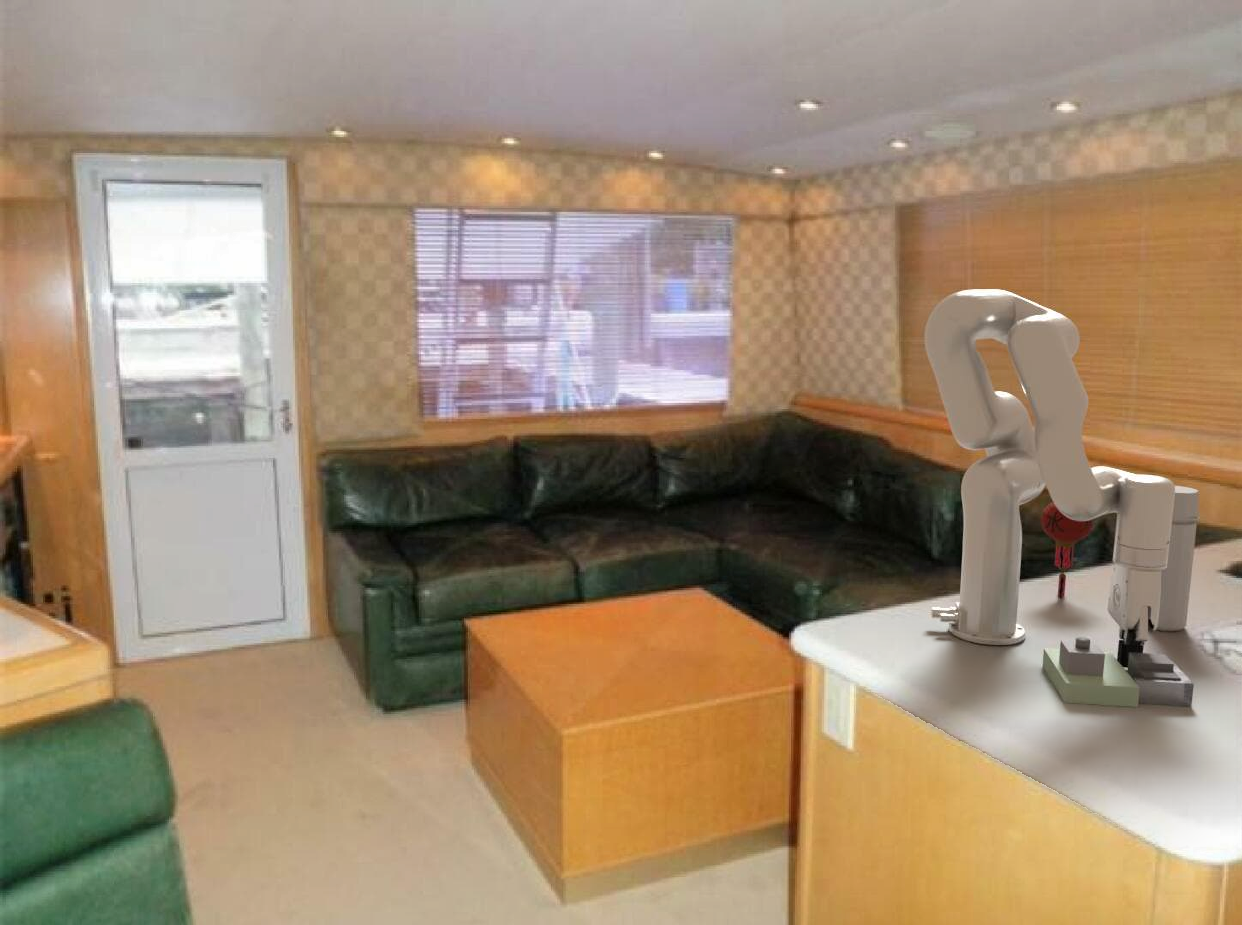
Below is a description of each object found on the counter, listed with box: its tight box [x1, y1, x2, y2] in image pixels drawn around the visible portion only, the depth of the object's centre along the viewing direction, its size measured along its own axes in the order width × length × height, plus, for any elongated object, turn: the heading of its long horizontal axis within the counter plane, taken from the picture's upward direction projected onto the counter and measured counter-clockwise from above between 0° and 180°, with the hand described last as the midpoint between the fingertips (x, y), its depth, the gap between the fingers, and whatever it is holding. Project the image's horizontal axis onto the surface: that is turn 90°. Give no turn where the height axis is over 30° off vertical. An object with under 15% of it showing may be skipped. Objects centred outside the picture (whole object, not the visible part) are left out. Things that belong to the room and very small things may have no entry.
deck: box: [1042, 636, 1140, 708], centre depth 151 cm, size 10×14×8 cm
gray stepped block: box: [1126, 652, 1181, 680], centre depth 148 cm, size 5×7×5 cm
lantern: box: [1040, 501, 1094, 598], centre depth 191 cm, size 10×10×30 cm
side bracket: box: [1134, 661, 1195, 707], centre depth 148 cm, size 8×8×4 cm
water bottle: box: [1156, 485, 1200, 632], centre depth 175 cm, size 9×8×25 cm
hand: (1128, 665), depth 157 cm, fingers closed
